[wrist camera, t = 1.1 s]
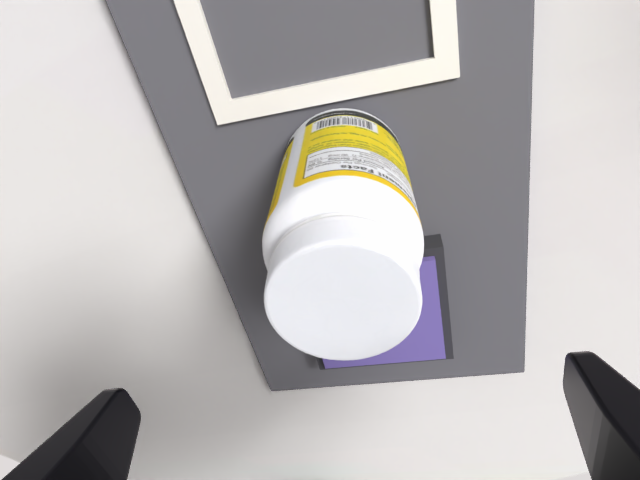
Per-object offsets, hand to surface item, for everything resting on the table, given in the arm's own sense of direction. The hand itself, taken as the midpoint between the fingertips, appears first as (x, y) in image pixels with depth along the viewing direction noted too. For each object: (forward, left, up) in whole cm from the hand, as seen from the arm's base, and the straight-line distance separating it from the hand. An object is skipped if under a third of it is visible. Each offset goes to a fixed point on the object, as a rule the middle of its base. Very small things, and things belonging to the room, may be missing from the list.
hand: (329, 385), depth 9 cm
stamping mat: (0, 0, -12) cm, 12 cm away
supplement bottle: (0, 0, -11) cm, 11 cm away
